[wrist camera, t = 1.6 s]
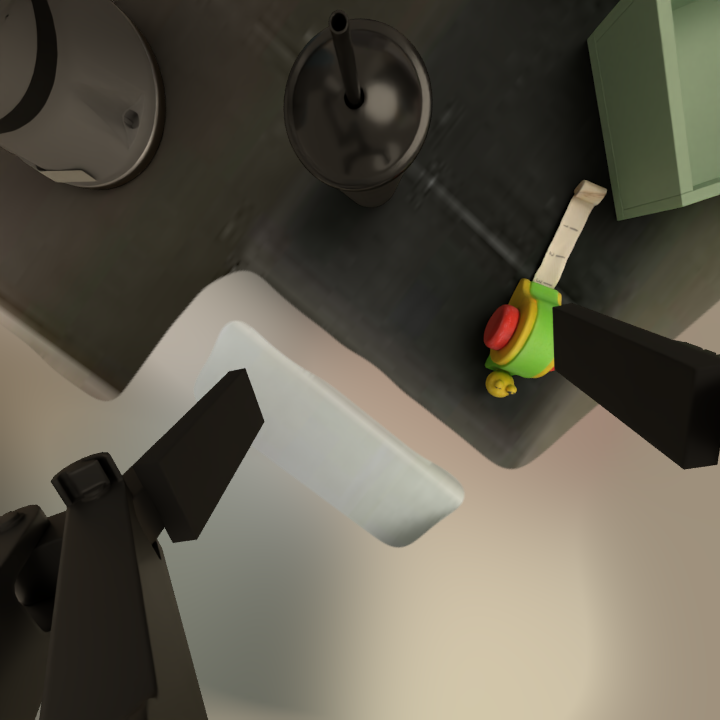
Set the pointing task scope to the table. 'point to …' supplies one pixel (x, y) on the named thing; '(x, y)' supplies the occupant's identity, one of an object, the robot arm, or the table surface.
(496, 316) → the toy measuring tape
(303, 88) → the drinking cup
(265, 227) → the table surface
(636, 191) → the tote
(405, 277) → the table surface
